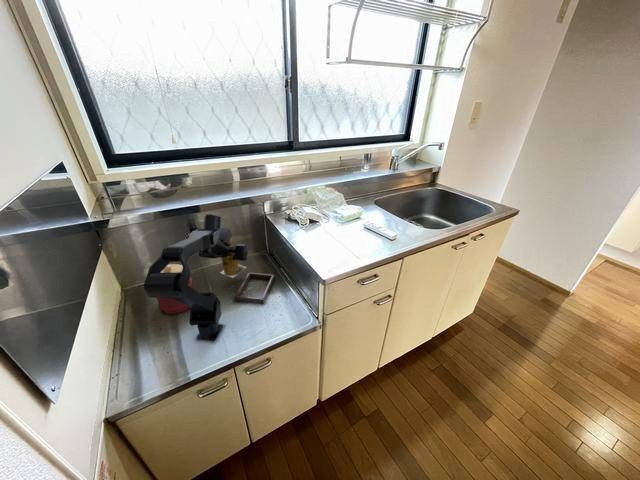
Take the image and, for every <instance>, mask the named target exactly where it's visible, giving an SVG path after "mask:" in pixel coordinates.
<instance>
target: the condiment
mask: <svg viewBox="0 0 640 480" xmlns="http://www.w3.org/2000/svg"><path fill="white" fill-rule="evenodd" d="M234 246H235V245H233V244H231V245H230V246H229V247H234ZM230 250H233V249H230ZM232 259H233V254H232V253H229V255H228V256H227V258H221V261H222V268H223V270H222V271H220V272H219V273H220V274H222V275H224V276H227V277H229V278H232V279H233V278H235V277H237V276H238V275H239V274H240V273H241V272H243V271H244V270H246V268H247V266H245V265H241V264H239V260H232Z"/></svg>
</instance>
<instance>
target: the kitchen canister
mask: <svg viewBox="0 0 640 480" xmlns="http://www.w3.org/2000/svg"><path fill="white" fill-rule="evenodd" d="M182 269H183V266H182V264H180V263H179V264H178V263H169V264H168V265H167V266H166V267H165V268H164V269H163V270H162V271H161V272H160V273H172V272H182ZM188 286H190V287H191V288H193V289H195V287H194V284H193V279H192V277H190V278H189V282H188ZM156 300H157V303H158V306H159V308H160V310H161V311H162V312H163V313H165V314H170V315H171V314H172V315H173V314H175V315H176V314H179V313H182V312H184V311H186V310H188V309H190V307H189V306H186V305H184V304H182V303H180V302H178V301H175V300H173V299H171V298H156Z"/></svg>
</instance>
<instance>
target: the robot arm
mask: <svg viewBox="0 0 640 480" xmlns="http://www.w3.org/2000/svg"><path fill="white" fill-rule="evenodd" d="M202 227H203V228H196V229H195V230H192V231H191V232H190V233H189V234H188V238H185V239H182V240H181V241H179V242H177V243H174V244H172V245H168V246H164V248H162V251H161V253H160V254H161V255H160V256H159V257H158V258H157V259H156V260H155V261H154V262H153V263H152V264H151V265H150V266H149V268H148V271H147V273H146V275H145V279H144V283H143V290H144V293H145V294H146V296H147V297H148V298H153V299H157V298H171V299H173V300H175V301H178V302H180V303H182V304H184V305H186V306H189V307H190V308H189V320H188V322H189V325H190V326H196V327H197V330H198V335H196V339H197V340H200V341H201V340H202V341H210V342H214V341H216V340H217V338H218V337H219V335H220V333H221V331H222V330H223V327H224V325H223V324H219V321H220V319H221V316H222V307H221V306H222V305H221V300H220V299H219V297H217V296H218V295H217V294H215V293H214V292H212V291H209V292H208V291H207V292H204V291H203V292H199V291H198V290H196V289H195V288H194V289H193V288H191V287H190V286H188V282H189V278H191V270H190V268H189V265H188V259H189V258H190V257H191V256H193V255H195V254H196V253H197V254H198V257H200V258H205V259H218V258H221V259H222V258H227V256H228V255H229V253H232V254H233V259H232V260H238V262H239V261H241V262H246V261H247V259H248V253H249V249H250V247H249V245H248V244H246V243H237V244H235V245H233V246H234V247H229V246H230V245H232V243H231V239H232V236H233V233H232V230H231V228H229V227H222V217H221V216H219V215H216V214H215V215H214V214H213V213H206V214H205V215H204V218H203V226H202ZM230 249H233V250H230ZM174 262H175V263H176V262H177V263H179V262H180V265H182V266H183V269H182V272H172V273H160V272H161V271H162V270H163V269H164V268H165V267H166V266H167V265H169V264H170V263H174Z"/></svg>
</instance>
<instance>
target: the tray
mask: <svg viewBox="0 0 640 480" xmlns="http://www.w3.org/2000/svg"><path fill="white" fill-rule="evenodd" d="M252 278H253V279H261V280H262V279H263V280H268V283H267V285H266V288H265V290H264V292H263V294H262V296H261V297H254V296H247V295H245V296H244V295H242V293H243V291H244V290H245V288H246V286H247V284H248V282H249V280H250V279H252ZM274 281H275V274H270V273H260V272H249V271H248V273H247V274H246V276H245V278H244V279H243V281H242V283H241V285H240V286H239V288H238V289H237V291H236V293H235V294H234V301H235V302H241V303H243V302H244V303H251V304H261V305H262V304H263V305H264V303H265V302H266V300H267V297H268V294H269V292H270V291H271V287H272V285H273V283H274Z"/></svg>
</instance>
